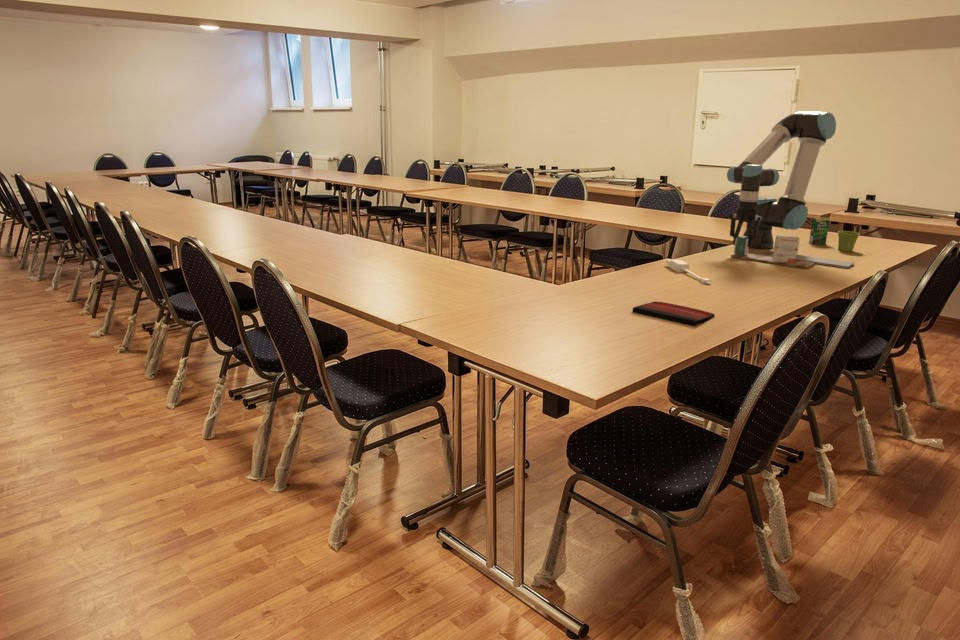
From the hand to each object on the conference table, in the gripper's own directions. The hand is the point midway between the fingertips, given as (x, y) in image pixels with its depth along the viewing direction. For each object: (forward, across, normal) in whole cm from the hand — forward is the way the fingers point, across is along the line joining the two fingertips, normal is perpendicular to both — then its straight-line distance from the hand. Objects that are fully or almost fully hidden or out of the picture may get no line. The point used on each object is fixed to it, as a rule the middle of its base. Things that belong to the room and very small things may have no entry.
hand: (740, 253), depth 297 cm
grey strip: (+2, +26, +14) cm, 30 cm away
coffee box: (+2, +16, +63) cm, 65 cm away
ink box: (+2, +19, 0) cm, 19 cm away
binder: (+2, +18, -108) cm, 110 cm away
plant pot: (+2, +31, +54) cm, 62 cm away
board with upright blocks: (+2, +14, 0) cm, 14 cm away
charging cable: (+2, -2, -52) cm, 52 cm away
